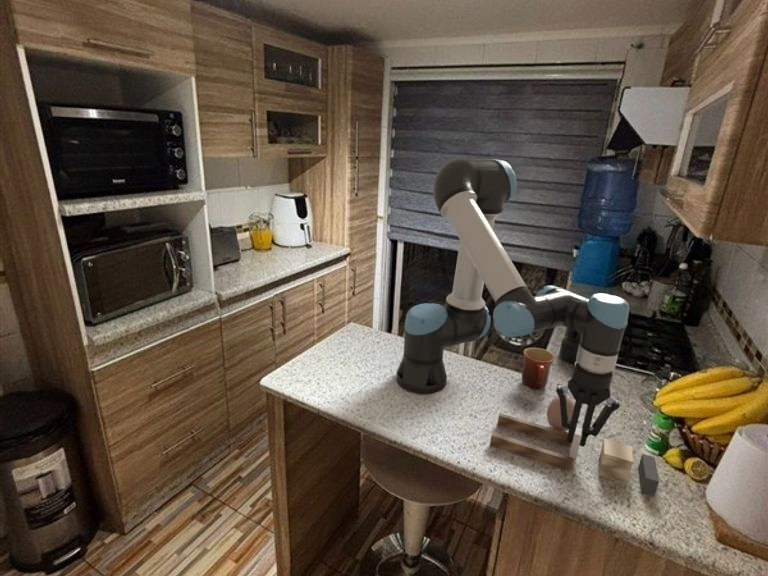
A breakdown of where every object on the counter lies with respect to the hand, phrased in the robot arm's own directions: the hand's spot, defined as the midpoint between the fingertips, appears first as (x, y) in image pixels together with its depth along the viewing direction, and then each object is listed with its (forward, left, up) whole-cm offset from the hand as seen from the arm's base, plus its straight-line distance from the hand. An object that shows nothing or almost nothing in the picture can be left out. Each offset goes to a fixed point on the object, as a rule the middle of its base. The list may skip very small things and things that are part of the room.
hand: (572, 454), depth 97 cm
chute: (-9, 0, -1) cm, 9 cm away
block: (+8, 0, -1) cm, 8 cm away
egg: (-4, +10, -1) cm, 10 cm away
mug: (-12, +27, -1) cm, 29 cm away
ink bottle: (-2, +52, -1) cm, 52 cm away
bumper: (+15, 0, -1) cm, 15 cm away
